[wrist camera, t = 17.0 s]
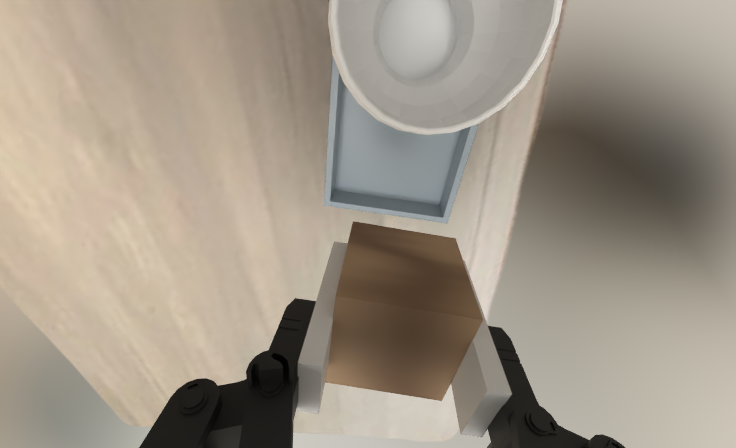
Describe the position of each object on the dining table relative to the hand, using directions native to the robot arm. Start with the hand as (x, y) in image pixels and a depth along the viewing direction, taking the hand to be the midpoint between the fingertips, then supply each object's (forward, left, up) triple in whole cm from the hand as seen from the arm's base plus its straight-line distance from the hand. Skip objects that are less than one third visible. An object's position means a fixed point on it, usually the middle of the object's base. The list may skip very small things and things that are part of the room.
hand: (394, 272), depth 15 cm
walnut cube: (0, 0, 0) cm, 0 cm away
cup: (-11, 0, -19) cm, 22 cm away
